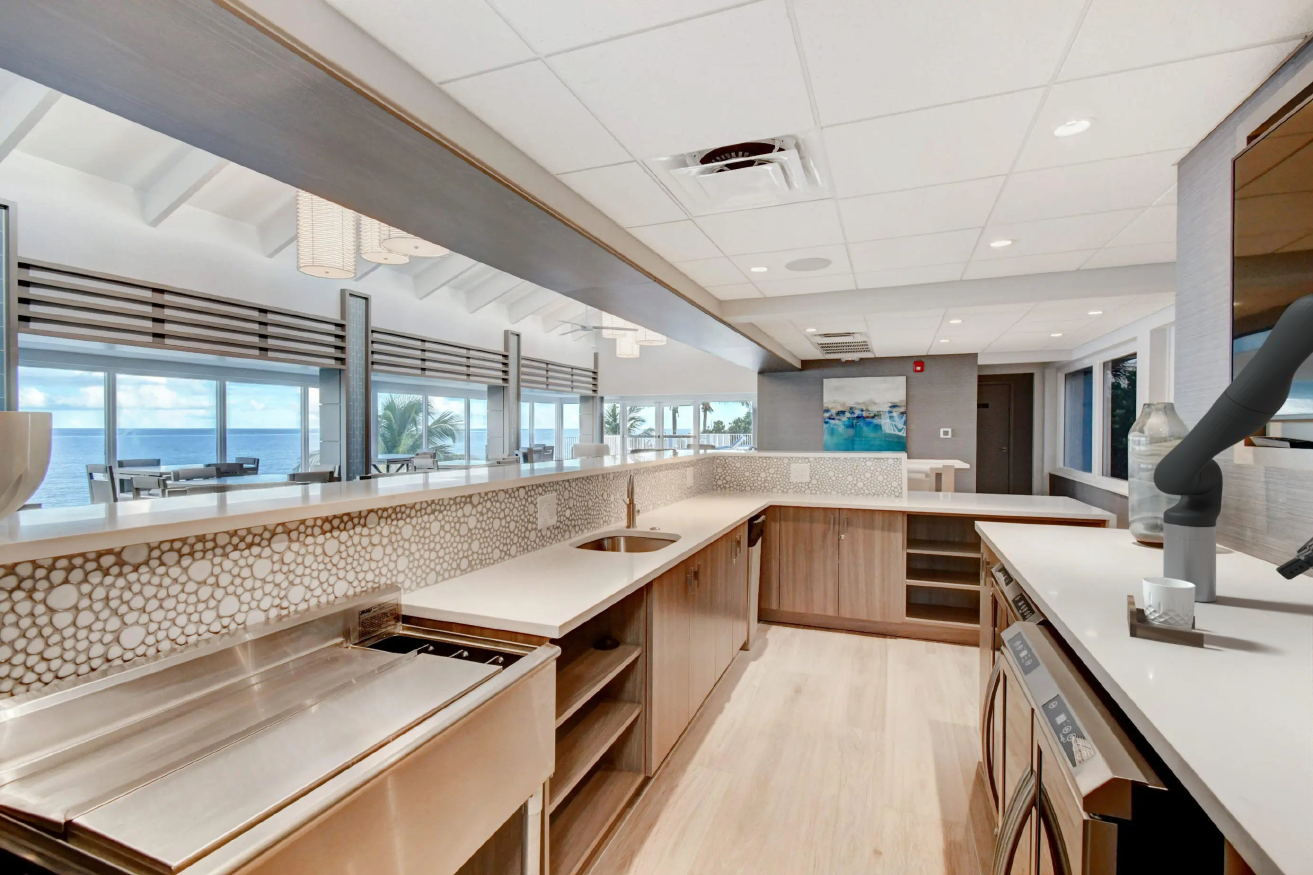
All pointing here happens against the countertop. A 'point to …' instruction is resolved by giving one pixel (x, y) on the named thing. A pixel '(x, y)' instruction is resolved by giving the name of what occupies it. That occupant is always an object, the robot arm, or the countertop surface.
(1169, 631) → the walnut bay
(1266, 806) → the countertop surface
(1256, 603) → the countertop surface
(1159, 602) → the white cup
